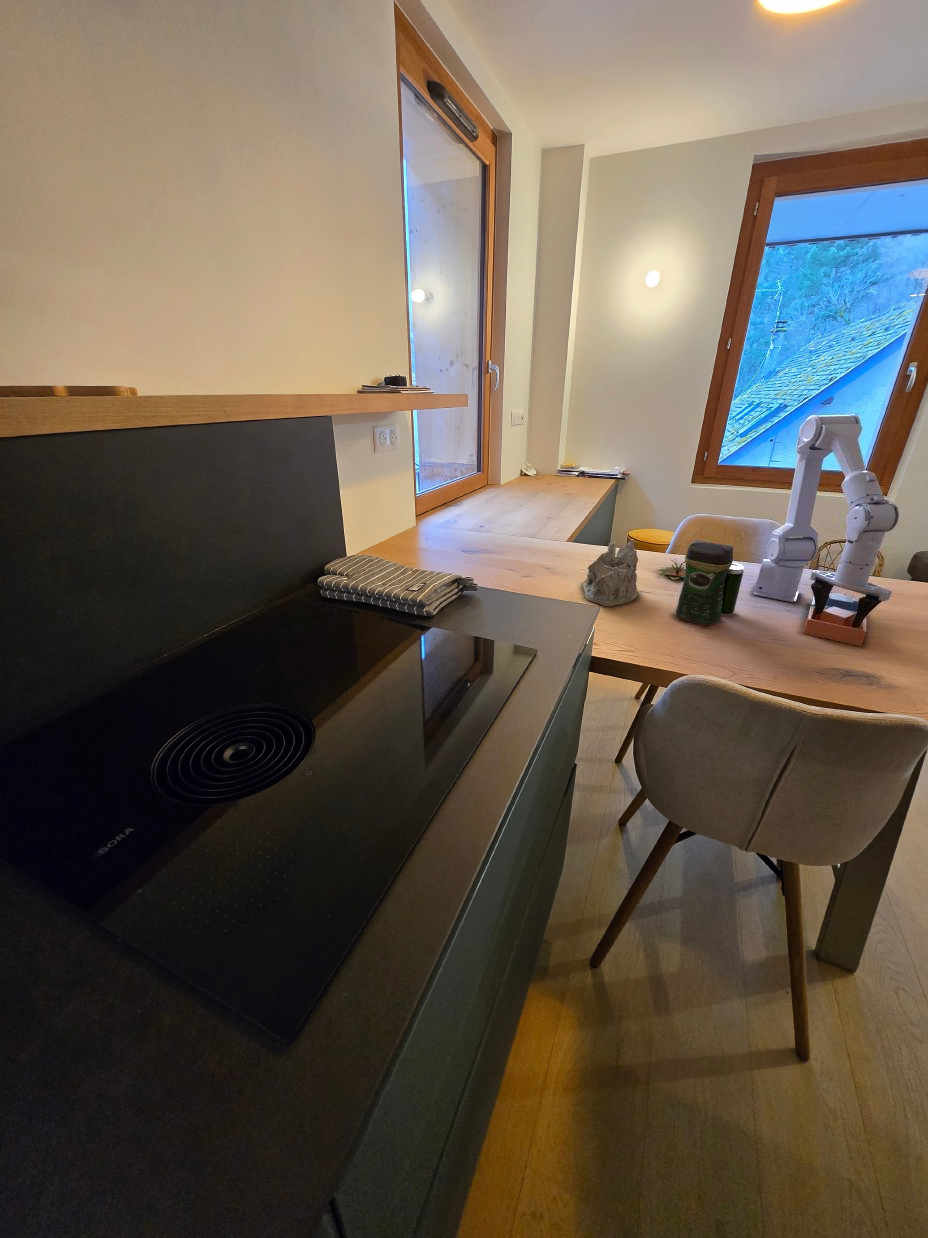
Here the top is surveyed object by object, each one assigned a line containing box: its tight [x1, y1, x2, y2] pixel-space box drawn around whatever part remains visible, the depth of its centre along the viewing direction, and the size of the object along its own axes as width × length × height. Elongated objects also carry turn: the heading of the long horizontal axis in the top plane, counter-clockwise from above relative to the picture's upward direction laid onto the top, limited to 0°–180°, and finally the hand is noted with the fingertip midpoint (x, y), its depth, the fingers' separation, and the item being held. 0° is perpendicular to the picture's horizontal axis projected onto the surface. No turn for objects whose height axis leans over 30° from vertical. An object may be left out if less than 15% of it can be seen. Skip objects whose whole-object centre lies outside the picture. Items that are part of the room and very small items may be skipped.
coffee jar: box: [675, 540, 734, 626], centre depth 114 cm, size 10×8×19 cm
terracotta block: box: [820, 606, 856, 627], centre depth 109 cm, size 4×4×4 cm
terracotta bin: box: [803, 605, 868, 647], centre depth 109 cm, size 10×9×4 cm
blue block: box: [826, 591, 855, 611], centre depth 116 cm, size 4×4×4 cm
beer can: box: [720, 562, 744, 617], centre depth 118 cm, size 5×5×12 cm
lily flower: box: [655, 558, 686, 581], centre depth 143 cm, size 12×12×5 cm
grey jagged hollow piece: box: [582, 538, 639, 607], centre depth 130 cm, size 16×16×15 cm
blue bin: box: [807, 594, 859, 616], centre depth 117 cm, size 10×9×4 cm
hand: (836, 619), depth 109 cm, fingers open, 7 cm apart
